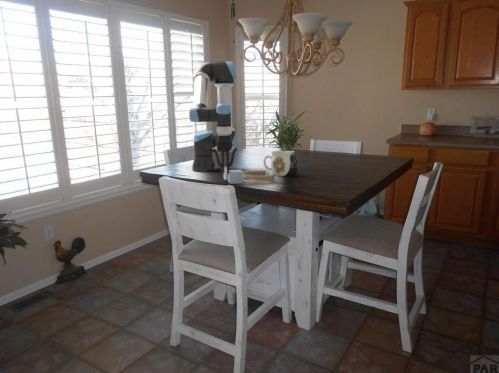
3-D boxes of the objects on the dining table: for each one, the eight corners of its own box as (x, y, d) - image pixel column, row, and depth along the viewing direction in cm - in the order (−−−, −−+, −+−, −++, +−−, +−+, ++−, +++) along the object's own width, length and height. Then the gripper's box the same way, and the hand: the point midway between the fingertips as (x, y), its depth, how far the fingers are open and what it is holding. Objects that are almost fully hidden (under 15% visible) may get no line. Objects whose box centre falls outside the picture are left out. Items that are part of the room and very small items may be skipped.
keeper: (228, 181, 215) (227, 170, 213) (240, 180, 216) (240, 169, 215) (230, 183, 208) (230, 172, 207) (243, 183, 210) (243, 172, 208)
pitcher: (265, 172, 237) (265, 149, 234) (295, 173, 233) (295, 150, 229) (261, 176, 226) (261, 152, 223) (293, 177, 222) (293, 152, 219)
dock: (243, 178, 221) (243, 171, 220) (266, 177, 224) (266, 170, 223) (249, 184, 206) (249, 176, 205) (274, 182, 209) (274, 175, 208)
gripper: (212, 135, 200) (214, 181, 206) (237, 134, 203) (238, 179, 208) (210, 134, 207) (212, 178, 213) (235, 133, 210) (236, 177, 215)
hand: (225, 179), depth 211 cm, fingers closed
